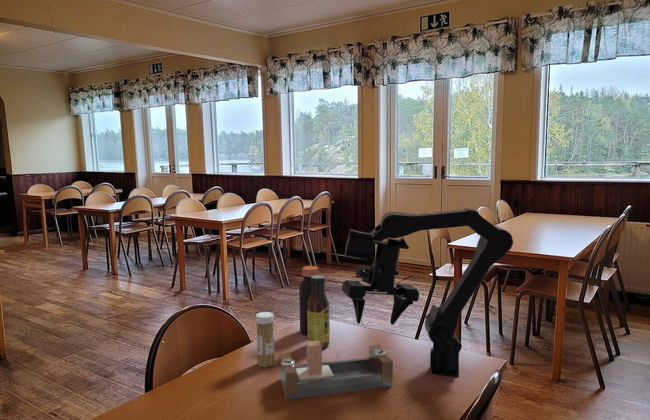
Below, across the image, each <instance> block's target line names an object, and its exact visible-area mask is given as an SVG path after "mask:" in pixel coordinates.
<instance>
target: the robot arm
mask: <svg viewBox="0 0 650 420" xmlns="http://www.w3.org/2000/svg"><path fill="white" fill-rule="evenodd" d="M382 215H383V216H381V218H380V221H379V224H377V226H376V227H374V229H372V231H371V232H370V233H369V232H364V231H358V230H355V229H350V230H349V233H348V238H347V240H346V244H345V245H346V246H345V253H344V257H345V258H349V259H351V258H352V259H356V260H362V261H368V260H369V259H371V258H373V256H374V259H373V260H374V261H373V262H371V265H370V268H367V266H366V265H361V264H358V265H356V271H355V277H356V278H357V279H361V282H362V283H361V282H360V281H359V280H351V279H345V281H344V282H343V283H342V285H341V291H342V292H343V293H344V294H345V295H346V296H347V298H350V299H351V300H352V304H353V307H354V313H355V320H356V323H357V324H358V325H359V324H361V321H362V319H363V313H364V309H365V305H366V304H365V303H366V299H365V298H364V297H366V294H367V295H370V294H371V295H385V296H386V295H387V296H393V305H392V311H391V315H390V321H389V322H390V323H389V324H391V325H393V326H394V325H395V323H396V322H397V321H398V319H399V318H400V317H401V315H402V314H403V313H404V311H406V309H407V308H408V307H409V306H411V305H413V304H414V302H419V300H420V291H419V290H418V289H417V288H416V287H414V286H413V285H411V284H410V283H397V284H396V285H395V281H396V276H399V270H398V266H399V265H398V264H399V258H400V254H401V249H403V250H409V249H410V246H409V244H408V243H407V242H406V240H405V239H406V238H404V237H406V236H409V235H412V234H414V233H417V232H421V231H429V230H431V231H432V230H438V229H440V230H441V229H450V228H459V227H469V228H470V229H472V231H473V232H474V233H476V234H477V235H478V236H479V239H478V241H477V244H476V249H475V252H474V256H473V257H472V259H471V260H470V262H469V263H468V265H467V267H466V268H465V270H464V271H463V272H462V275H461V276H460V278H459V279H458V281H457V282H456V283H455V286H454V287H453V289H452V290H451V292H450V293H449V295H448V296H447V297H446V299H445V301H444V302H443V303H442V304H441V305H439V306H438V307H437V305H435V304H432V306H431V307H430V310H429V312H428V313H427V314H426V315H425V316H424V318H425V321H424V327H425V331H426V333H427V335H428V339H430V341H431V342H432V343H433V344H432V345H433V346H432V348H430V354H429V355H430V356H429V359H430V360H429V362H430V363H429V367H430V369H431V374H434V375H442V376H449V377H450V376H453V377H460V359H459V358H460V351H461V349H462V348H463V346H462V345H463V344H462V343H461V341H460V340H459V338H458V337H457V333H455V331H456V329H457V327H458V322H459V319H460V314H461V313H462V311H463V310H464V309H465V307H466V305H467V304H468V302H469V301H470V299H471V298H472V296H473V295H474V293H475V291H476V290H477V288H478V287H479V286H480V284H481V283H482V281H483V279H484V278H485V276H486V275H487V273H488V271H489V270H490V268H491V267H492V266H493V265H495V264H496V263H498V262H499V261H500V260H502V259H503V258H504V257H505V256H506V255H507V253H508V252H509V251H510V250H511V249H512V248H513V245H514V241H513V240H514V239H513V236H512V234H511V233H510V232H509V231H508V230H506V229H504V228H502V227H500V226H497V225H493V224H492V223H491V222H489V221H488V220H487V219H485V218H484V217H483V216H482V215H481V214H480V213H479V212H478V211H477V210H475V209H472V208H471V207H466V208H463V209H456V210H455V209H453V210H446V211H435V212H425V213H409V212H403V211H402V212H401V211H388V212H386V213H384V214H382ZM375 247H376V249H375ZM374 252H375V255H374ZM363 283H366V284H367V285H364V284H363Z"/></svg>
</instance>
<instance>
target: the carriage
mask: <svg viewBox="0 0 650 420" xmlns="http://www.w3.org/2000/svg"><path fill="white" fill-rule="evenodd" d="M322 352H323V348H322V345H321V343H320V341H319V340H317V341H308V340H307V341H306V364H307V367H306V368H297V369H296V371H297V381H298V382H302V381H311V380H319V379H328V378H334V375H333V373H332V371H331V369H330V367H329V366H328V365H324V366H322V363H323V353H322Z"/></svg>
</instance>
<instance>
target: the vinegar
mask: <svg viewBox="0 0 650 420" xmlns="http://www.w3.org/2000/svg"><path fill="white" fill-rule="evenodd" d="M301 274H302V276H301V277H302V278H303V279H302V280H301V281H300V283H299V285H298V291H299V292H298V293H299V296H298V297H299V298H298V299H299V332H300V334H301V335H303V336H306V337H308V319H307V310H308V298H309V296H310V295H311V293H312V292H311V290H312V285H311V276H315V275H319V266H314V265H306V266H304V267H303V266H302V268H301Z"/></svg>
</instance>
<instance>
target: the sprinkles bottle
mask: <svg viewBox="0 0 650 420" xmlns="http://www.w3.org/2000/svg"><path fill="white" fill-rule="evenodd" d="M274 316H275V315H274V313H272V312H271V311H270V312H269V311H260V312H258V313H256V315H255V323H256V353H257V362H256V363H257V364H256V365H257V366H259V367H260V368H270V367H273V365H275V342H274V341H275V339H274V338H275V337H274V321H275V320H274V319H275V317H274Z"/></svg>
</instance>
